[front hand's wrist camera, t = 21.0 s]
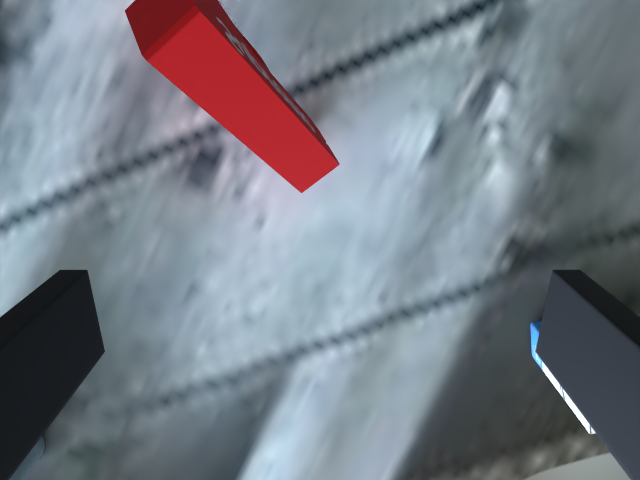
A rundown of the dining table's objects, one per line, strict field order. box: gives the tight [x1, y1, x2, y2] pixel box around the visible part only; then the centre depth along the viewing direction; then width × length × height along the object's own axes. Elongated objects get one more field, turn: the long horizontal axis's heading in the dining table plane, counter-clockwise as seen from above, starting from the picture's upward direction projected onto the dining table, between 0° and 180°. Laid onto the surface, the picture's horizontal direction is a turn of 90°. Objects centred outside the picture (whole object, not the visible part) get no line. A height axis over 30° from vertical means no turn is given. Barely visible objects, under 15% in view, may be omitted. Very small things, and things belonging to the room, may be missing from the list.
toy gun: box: [125, 0, 339, 193], centre depth 36 cm, size 18×4×15 cm
